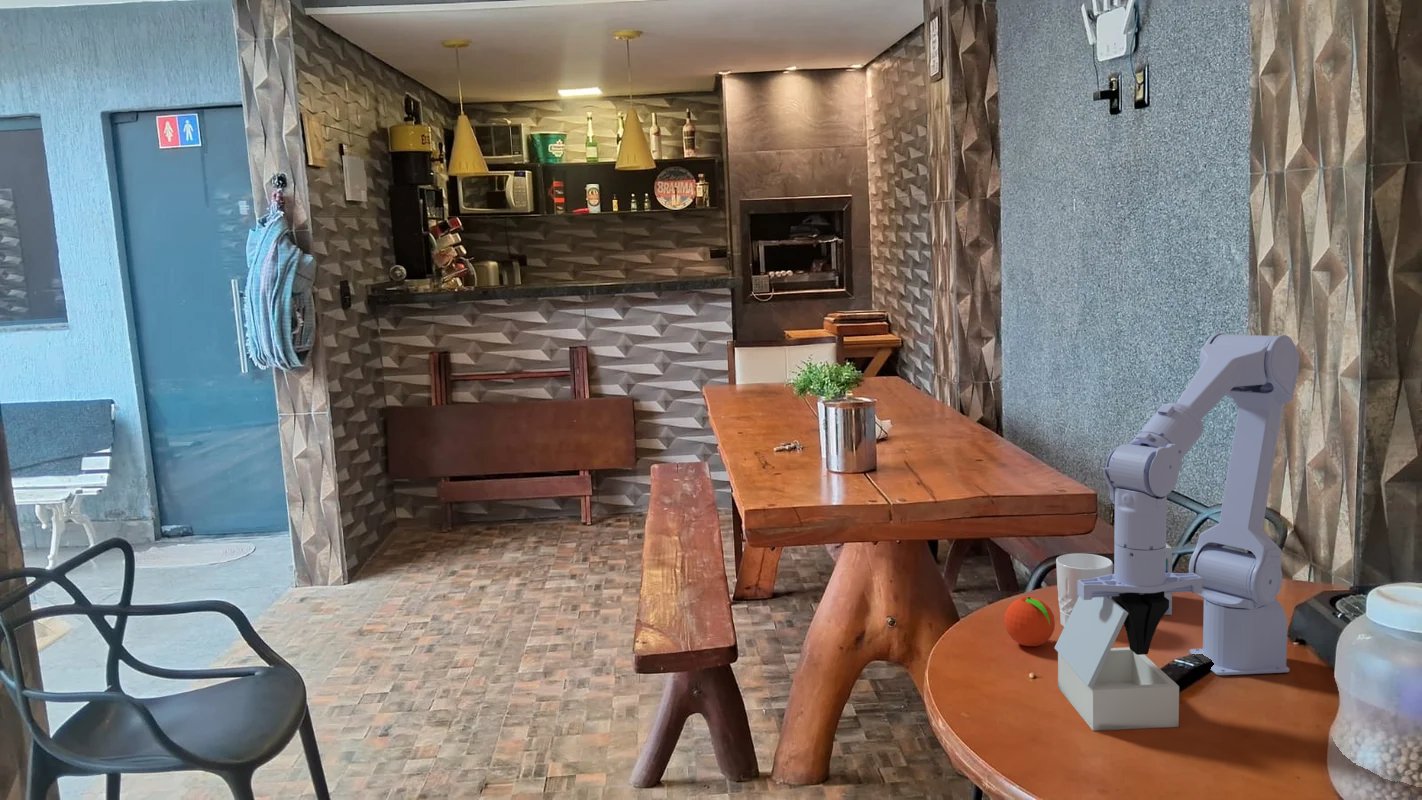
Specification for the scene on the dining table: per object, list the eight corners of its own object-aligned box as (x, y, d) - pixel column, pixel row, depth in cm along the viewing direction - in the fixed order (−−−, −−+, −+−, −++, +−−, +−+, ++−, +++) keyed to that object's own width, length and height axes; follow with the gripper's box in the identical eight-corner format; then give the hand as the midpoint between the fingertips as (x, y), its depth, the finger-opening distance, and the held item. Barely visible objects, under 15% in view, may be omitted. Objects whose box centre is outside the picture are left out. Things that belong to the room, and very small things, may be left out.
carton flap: (1091, 581, 126) (1086, 579, 126) (1128, 613, 114) (1123, 611, 114) (1058, 649, 127) (1054, 647, 127) (1092, 687, 116) (1087, 685, 115)
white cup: (1117, 620, 150) (1117, 556, 148) (1106, 638, 143) (1106, 571, 142) (1063, 613, 154) (1063, 550, 153) (1050, 630, 147) (1050, 565, 146)
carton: (1135, 683, 128) (1136, 647, 127) (1178, 726, 116) (1179, 686, 115) (1058, 687, 128) (1058, 650, 127) (1092, 730, 116) (1093, 690, 115)
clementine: (1070, 651, 139) (1070, 602, 138) (1030, 660, 137) (1029, 611, 136) (1033, 632, 147) (1033, 586, 146) (994, 640, 144) (994, 594, 143)
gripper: (1182, 531, 123) (1180, 635, 125) (1067, 538, 123) (1067, 642, 125) (1212, 547, 116) (1210, 657, 118) (1091, 554, 116) (1090, 664, 118)
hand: (1138, 651), depth 121 cm, fingers closed
